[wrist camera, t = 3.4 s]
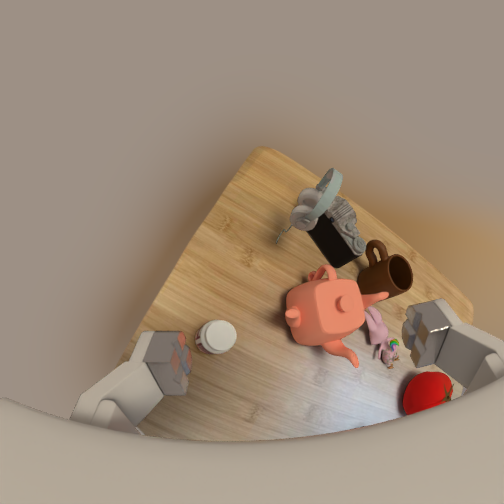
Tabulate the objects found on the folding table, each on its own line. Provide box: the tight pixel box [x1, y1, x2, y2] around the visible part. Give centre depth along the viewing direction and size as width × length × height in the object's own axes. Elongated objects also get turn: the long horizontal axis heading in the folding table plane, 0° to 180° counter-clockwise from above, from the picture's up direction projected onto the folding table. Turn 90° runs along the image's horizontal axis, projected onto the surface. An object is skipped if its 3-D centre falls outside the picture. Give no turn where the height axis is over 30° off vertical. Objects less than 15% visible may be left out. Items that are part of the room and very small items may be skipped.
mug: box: [358, 240, 413, 302], centre depth 52 cm, size 12×8×9 cm, turn 36°
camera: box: [298, 187, 366, 268], centre depth 52 cm, size 15×7×10 cm, turn 38°
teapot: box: [285, 264, 389, 368], centre depth 45 cm, size 14×14×11 cm
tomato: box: [403, 372, 454, 415], centre depth 45 cm, size 12×12×11 cm
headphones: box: [276, 168, 343, 244], centre depth 44 cm, size 8×4×20 cm, turn 155°
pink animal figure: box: [364, 306, 399, 369], centre depth 50 cm, size 6×6×15 cm
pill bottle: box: [195, 320, 236, 354], centre depth 39 cm, size 5×5×8 cm
